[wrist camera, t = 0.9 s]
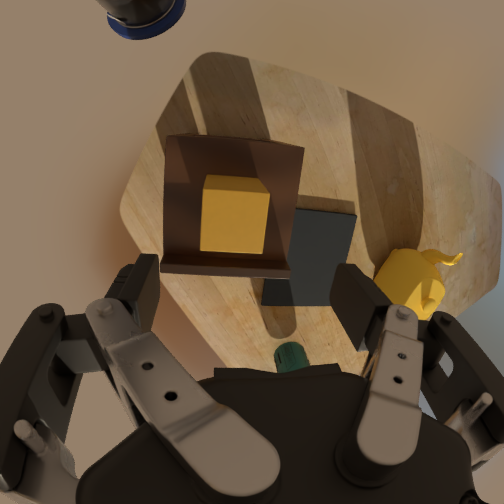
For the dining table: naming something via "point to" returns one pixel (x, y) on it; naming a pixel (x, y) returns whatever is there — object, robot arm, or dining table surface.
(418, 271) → the teapot
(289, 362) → the beverage bottle
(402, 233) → the dining table surface
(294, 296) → the slate mat
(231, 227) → the yellow block
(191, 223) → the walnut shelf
